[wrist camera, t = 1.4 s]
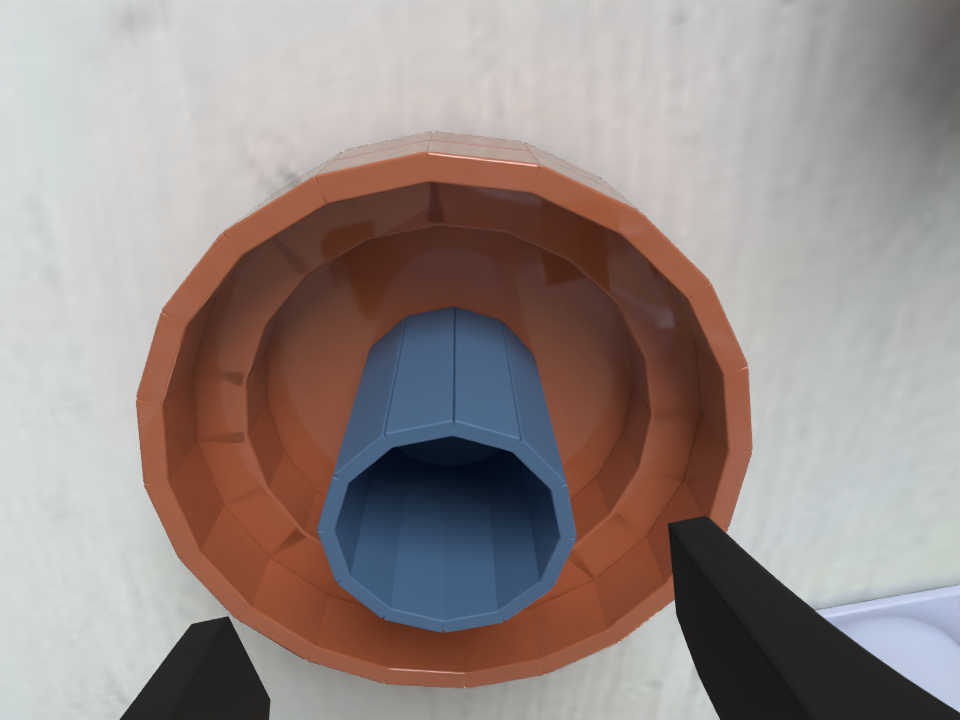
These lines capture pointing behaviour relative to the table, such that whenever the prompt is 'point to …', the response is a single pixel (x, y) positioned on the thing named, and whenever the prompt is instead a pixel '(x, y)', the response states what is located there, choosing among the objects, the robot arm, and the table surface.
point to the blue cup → (448, 478)
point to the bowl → (340, 364)
